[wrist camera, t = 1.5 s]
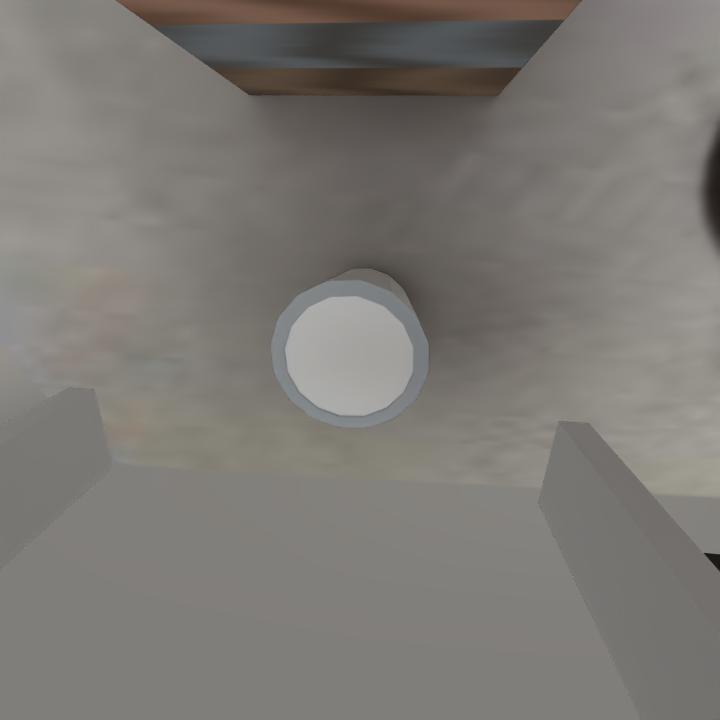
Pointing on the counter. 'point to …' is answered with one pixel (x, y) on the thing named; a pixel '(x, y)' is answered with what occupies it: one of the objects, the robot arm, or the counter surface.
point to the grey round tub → (351, 350)
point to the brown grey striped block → (359, 42)
